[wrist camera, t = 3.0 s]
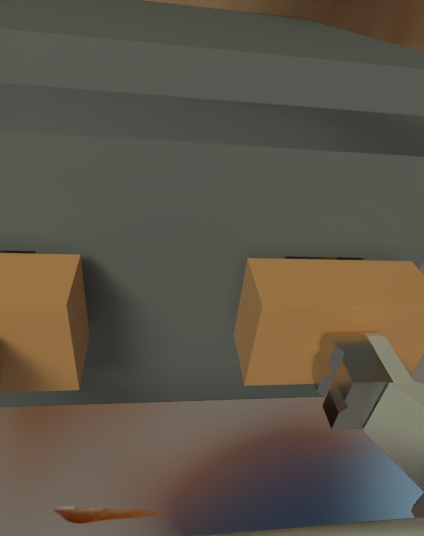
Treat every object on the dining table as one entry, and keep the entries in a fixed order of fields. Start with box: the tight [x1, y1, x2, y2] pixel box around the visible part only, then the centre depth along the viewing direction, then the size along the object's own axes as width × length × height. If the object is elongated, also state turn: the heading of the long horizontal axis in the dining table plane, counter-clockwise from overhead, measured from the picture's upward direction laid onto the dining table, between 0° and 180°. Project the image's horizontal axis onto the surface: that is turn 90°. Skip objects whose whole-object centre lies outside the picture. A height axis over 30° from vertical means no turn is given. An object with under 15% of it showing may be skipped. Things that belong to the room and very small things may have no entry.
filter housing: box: [0, 0, 424, 407], centre depth 18 cm, size 12×16×16 cm
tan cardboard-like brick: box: [0, 250, 90, 392], centre depth 12 cm, size 3×5×6 cm, turn 84°
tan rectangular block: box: [234, 256, 424, 386], centre depth 13 cm, size 3×5×6 cm, turn 84°
